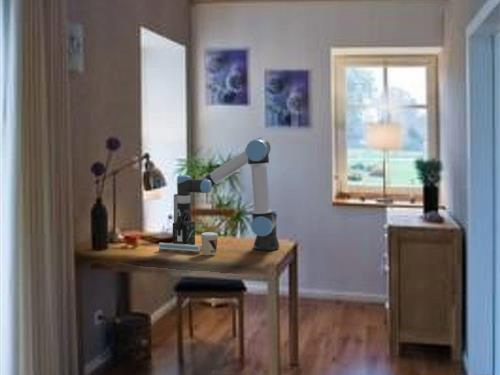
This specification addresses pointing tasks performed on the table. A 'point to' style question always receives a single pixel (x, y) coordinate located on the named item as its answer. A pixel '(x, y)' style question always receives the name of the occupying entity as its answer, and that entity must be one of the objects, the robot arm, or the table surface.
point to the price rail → (179, 247)
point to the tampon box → (185, 233)
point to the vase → (175, 208)
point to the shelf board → (182, 250)
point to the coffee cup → (209, 243)
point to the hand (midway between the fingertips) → (184, 238)
